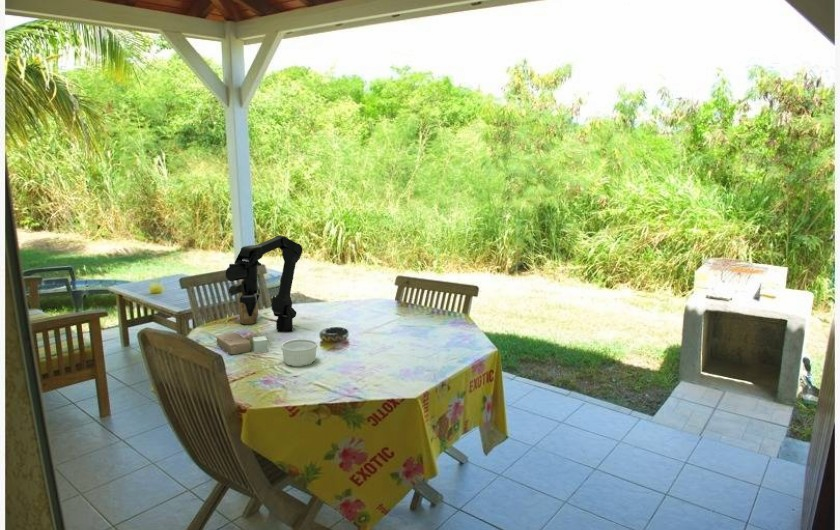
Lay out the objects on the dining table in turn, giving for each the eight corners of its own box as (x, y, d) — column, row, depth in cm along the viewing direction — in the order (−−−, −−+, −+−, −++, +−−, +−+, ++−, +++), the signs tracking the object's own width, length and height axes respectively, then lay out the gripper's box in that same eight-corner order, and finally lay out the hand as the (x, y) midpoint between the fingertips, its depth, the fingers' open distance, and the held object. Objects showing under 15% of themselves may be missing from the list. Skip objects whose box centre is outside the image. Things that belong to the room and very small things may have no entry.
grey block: (265, 347, 227) (265, 336, 226) (267, 351, 223) (267, 339, 222) (253, 349, 225) (252, 337, 224) (254, 353, 221) (254, 341, 220)
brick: (215, 345, 230) (215, 334, 229) (235, 341, 235) (235, 330, 234) (230, 356, 217) (230, 345, 216) (251, 352, 222) (251, 341, 221)
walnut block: (258, 315, 234) (257, 301, 233) (256, 318, 229) (256, 304, 228) (245, 315, 233) (245, 301, 232) (243, 319, 228) (243, 304, 227)
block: (257, 324, 258) (256, 281, 254) (240, 325, 254) (239, 283, 251) (254, 317, 267) (253, 277, 263) (238, 319, 264) (236, 278, 260)
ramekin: (286, 370, 204) (286, 352, 203) (278, 358, 216) (277, 341, 214) (321, 364, 210) (321, 347, 209) (311, 353, 222) (311, 336, 220)
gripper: (233, 273, 236) (234, 309, 238) (225, 282, 218) (226, 321, 220) (260, 273, 238) (261, 308, 240) (255, 282, 220) (256, 320, 222)
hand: (251, 314), depth 231 cm, fingers closed on walnut block, 5 cm apart
